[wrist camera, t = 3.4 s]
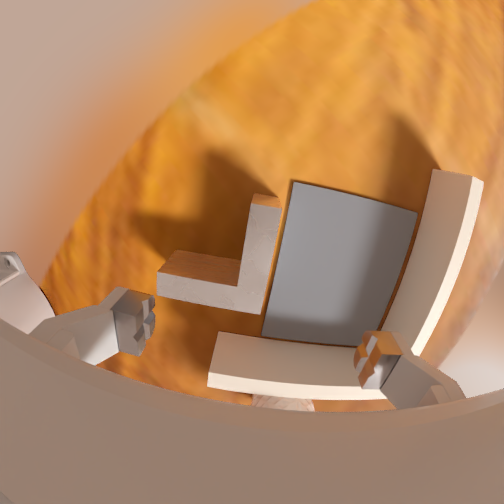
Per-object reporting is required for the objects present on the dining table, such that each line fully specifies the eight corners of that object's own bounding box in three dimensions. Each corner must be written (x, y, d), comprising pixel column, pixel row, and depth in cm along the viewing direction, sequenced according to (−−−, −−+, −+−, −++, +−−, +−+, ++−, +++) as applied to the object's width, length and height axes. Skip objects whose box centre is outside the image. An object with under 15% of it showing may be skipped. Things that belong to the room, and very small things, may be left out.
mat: (261, 333, 26) (261, 335, 26) (293, 181, 21) (294, 182, 21) (367, 345, 27) (368, 346, 26) (416, 212, 21) (418, 213, 21)
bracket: (261, 284, 25) (260, 314, 20) (175, 269, 24) (156, 295, 20) (278, 197, 22) (282, 208, 17) (182, 182, 22) (161, 190, 17)
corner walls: (217, 345, 27) (207, 386, 22) (250, 118, 20) (245, 105, 14) (375, 361, 28) (391, 398, 22) (443, 173, 20) (483, 182, 14)
